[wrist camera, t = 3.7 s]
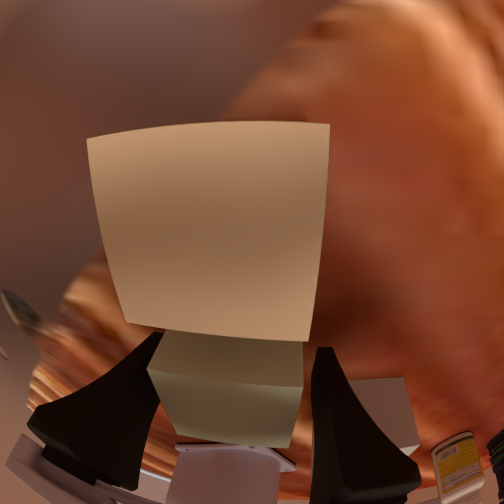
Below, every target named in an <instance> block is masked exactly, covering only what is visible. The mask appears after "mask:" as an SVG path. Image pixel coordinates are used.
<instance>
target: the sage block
mask: <svg viewBox="0 0 504 504" xmlns="http://www.w3.org/2000/svg"><path fill="white" fill-rule="evenodd" d="M147 371H148V373H149V376H150V378H151V380H152V383H153V385H154V387H155V389H156V392H157V394H158V396H159V398H160V400H161V403H162V405H163V407H164V409H165V411H166V413H167V415H168V417H169V419H170V421H171V423H172V425H173V427H174V429H175V431H176V433H177V434H179V435H183V436H188V437H193V438H198V439H204V440H210V441H216V442H223V443H230V444H238V445H247V446H258V447H272V448H289V445H290V441H291V437H292V433H293V429H294V425H295V421H296V417H297V413H298V409H299V405H300V400H301V396H302V391H303V341H284V340H267V339H253V338H241V337H230V336H220V335H210V334H202V333H193V332H185V331H178V330H171V329H166V331H165V333H164V335H163V337H162V339H161V341H160V343H159V345H158V347H157V349H156V351H155V353H154V355H153V357H152V359H151V361H150V363H149V365H148V367H147Z"/></svg>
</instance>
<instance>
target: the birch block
mask: <svg viewBox="0 0 504 504" xmlns="http://www.w3.org/2000/svg"><path fill="white" fill-rule="evenodd" d="M329 136H330V124H323V123H315V122H304V121H278V120H238V121H212V122H197V123H184V124H174V125H165V126H157V127H150V128H144V129H137V130H130V131H125V132H119V133H114V134H108V135H103V136H98V137H94V138H89V139H87V147H88V157H89V164H90V173H91V180H92V186H93V193H94V199H95V204H96V209H97V215H98V221H99V225H100V230H101V235H102V239H103V244H104V248H105V252H106V256H107V260H108V264H109V268H110V271H111V275H112V279H113V282H114V286H115V289H116V292H117V296H118V299H119V302H120V305H121V308H122V311H123V314H124V317H125V320H126V322H128V323H133V324H139V325H145V326H151V327H158V328H164V329H171V330H178V331H185V332H193V333H202V334H210V335H220V336H230V337H241V338H253V339H267V340H284V341H307V342H308V340H309V334H310V328H311V321H312V315H313V308H314V301H315V294H316V287H317V280H318V272H319V264H320V255H321V246H322V237H323V227H324V216H325V204H326V191H327V176H328V159H329Z"/></svg>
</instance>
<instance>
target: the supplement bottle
mask: <svg viewBox="0 0 504 504" xmlns="http://www.w3.org/2000/svg"><path fill="white" fill-rule="evenodd" d="M431 457H432V463H433V467H434V472H435V478H436V483H437V489H438V495H439V497H440V498H441V503H442V504H481V503H483V499H482V495H481V493H479V488H480V487H481V486H482V485H483V484H484V481H485V478H484V473H483V469H482V465H481V461H480V457H479V454H478V450H477V447H476V444H475V440H474V437H473V435H472V433H471V432H464V433H461V434H458V435H456V436H454V437H452V438H450V439H448V440H446V441H444V442H442V443H441V444H439V445H438V446H437V447H436V448H435V449H434V450H433V451H432V453H431Z"/></svg>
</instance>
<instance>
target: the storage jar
mask: <svg viewBox="0 0 504 504" xmlns="http://www.w3.org/2000/svg"><path fill="white" fill-rule="evenodd" d="M487 448H488V450H489V456H492V457H491V458H490V462H491V465H493V464H494V465H493V466H492V468H493V469H492V470H493V472H494V473H495V474H496V478H497V482H498V487H499V493H498V496H499V500H501V499H503V501H501V502H500V503H499V504H504V429H503V430H502V431H501V432H500V433H498V434H497V435H496V436H495V437H494V438H493V439H492V440H491V441H490V442H489V443H488V444H487Z"/></svg>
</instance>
